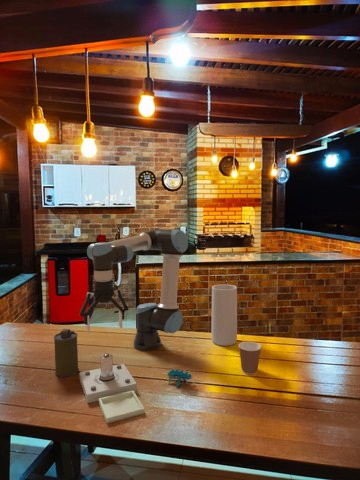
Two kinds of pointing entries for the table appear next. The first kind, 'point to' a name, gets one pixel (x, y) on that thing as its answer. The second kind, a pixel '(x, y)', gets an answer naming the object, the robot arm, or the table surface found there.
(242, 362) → the coffee cup
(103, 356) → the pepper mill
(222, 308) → the vase
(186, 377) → the teal bumpy figure
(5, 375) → the table surface
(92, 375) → the bearing plate
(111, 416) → the parts tray
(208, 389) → the table surface
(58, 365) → the canister
